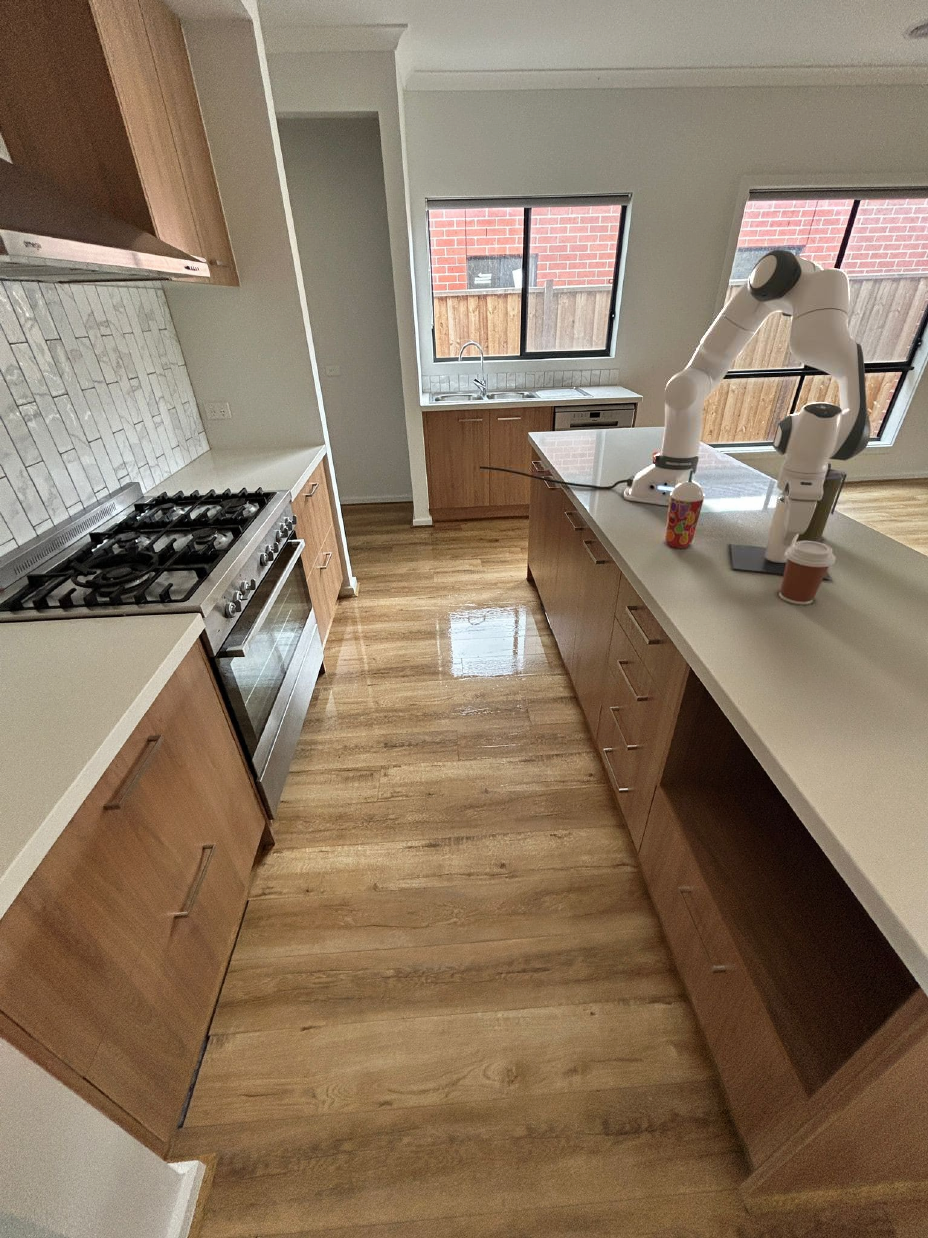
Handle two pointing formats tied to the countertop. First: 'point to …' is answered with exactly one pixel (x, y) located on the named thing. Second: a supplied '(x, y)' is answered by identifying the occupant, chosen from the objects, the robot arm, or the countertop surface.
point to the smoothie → (683, 513)
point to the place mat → (755, 560)
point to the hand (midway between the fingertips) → (783, 537)
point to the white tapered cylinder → (778, 536)
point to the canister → (824, 505)
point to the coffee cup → (805, 570)
